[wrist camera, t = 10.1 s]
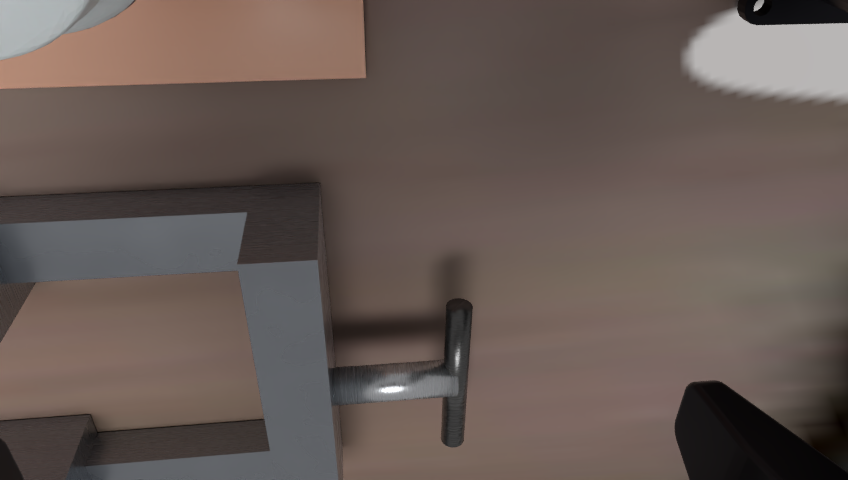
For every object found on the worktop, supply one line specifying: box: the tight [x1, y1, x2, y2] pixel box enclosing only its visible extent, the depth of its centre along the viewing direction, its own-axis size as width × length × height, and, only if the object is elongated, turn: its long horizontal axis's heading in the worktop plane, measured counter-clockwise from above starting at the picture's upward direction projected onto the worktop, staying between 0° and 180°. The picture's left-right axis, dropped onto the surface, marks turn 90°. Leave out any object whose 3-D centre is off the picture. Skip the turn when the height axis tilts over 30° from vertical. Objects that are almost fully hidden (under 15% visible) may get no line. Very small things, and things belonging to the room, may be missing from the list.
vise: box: [0, 183, 473, 480], centre depth 22 cm, size 17×12×4 cm
